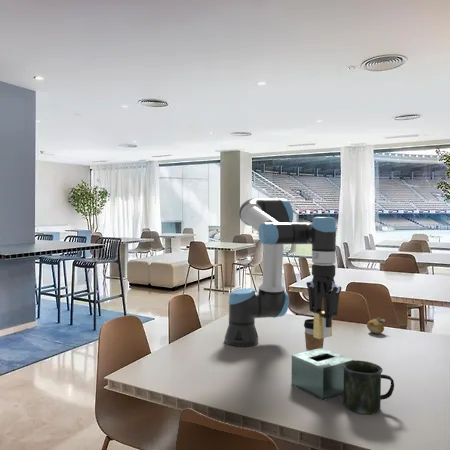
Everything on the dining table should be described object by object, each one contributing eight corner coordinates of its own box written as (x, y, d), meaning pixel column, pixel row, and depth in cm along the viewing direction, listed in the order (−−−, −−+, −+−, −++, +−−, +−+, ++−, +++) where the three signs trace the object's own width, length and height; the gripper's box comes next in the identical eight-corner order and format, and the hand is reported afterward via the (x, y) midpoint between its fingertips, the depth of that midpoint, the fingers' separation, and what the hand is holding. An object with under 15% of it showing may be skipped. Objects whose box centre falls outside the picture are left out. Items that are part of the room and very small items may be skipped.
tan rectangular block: (313, 337, 131) (313, 312, 131) (326, 334, 134) (326, 310, 134) (318, 338, 129) (319, 314, 129) (331, 336, 132) (332, 311, 132)
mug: (339, 397, 125) (340, 359, 125) (389, 401, 122) (390, 362, 122) (343, 413, 114) (344, 372, 114) (398, 419, 111) (398, 376, 111)
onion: (369, 330, 201) (369, 314, 201) (385, 333, 197) (386, 316, 197) (364, 333, 195) (365, 317, 195) (381, 336, 191) (382, 319, 190)
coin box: (291, 384, 134) (291, 354, 134) (321, 376, 141) (321, 347, 141) (322, 400, 122) (323, 368, 122) (353, 390, 130) (353, 359, 130)
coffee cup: (325, 361, 156) (326, 323, 155) (303, 360, 157) (303, 322, 157) (324, 354, 164) (325, 318, 164) (303, 353, 166) (304, 317, 165)
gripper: (298, 262, 136) (297, 331, 136) (333, 267, 123) (333, 343, 123) (314, 261, 140) (313, 328, 140) (350, 265, 127) (349, 339, 127)
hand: (322, 335), depth 131 cm, fingers closed on tan rectangular block, 2 cm apart
